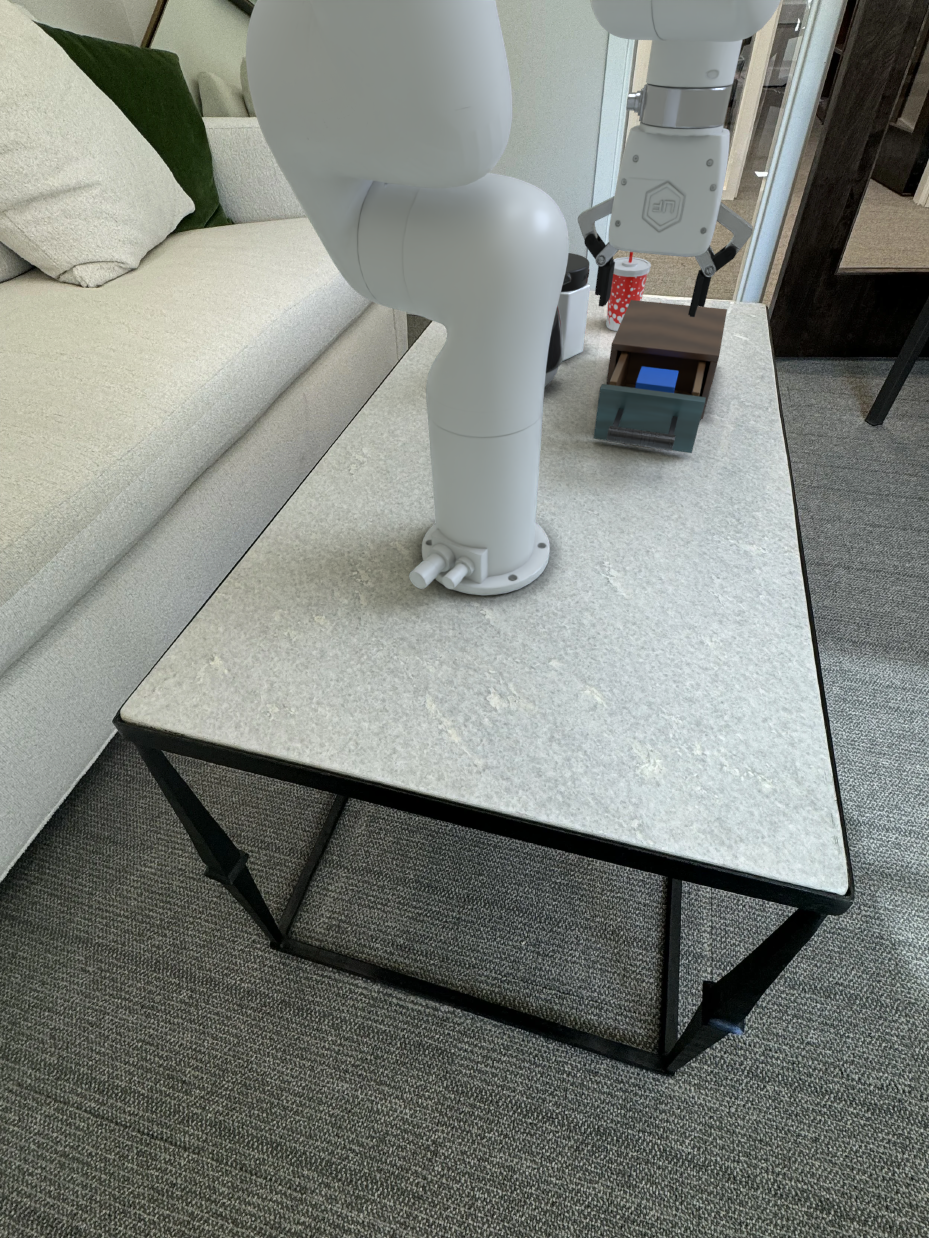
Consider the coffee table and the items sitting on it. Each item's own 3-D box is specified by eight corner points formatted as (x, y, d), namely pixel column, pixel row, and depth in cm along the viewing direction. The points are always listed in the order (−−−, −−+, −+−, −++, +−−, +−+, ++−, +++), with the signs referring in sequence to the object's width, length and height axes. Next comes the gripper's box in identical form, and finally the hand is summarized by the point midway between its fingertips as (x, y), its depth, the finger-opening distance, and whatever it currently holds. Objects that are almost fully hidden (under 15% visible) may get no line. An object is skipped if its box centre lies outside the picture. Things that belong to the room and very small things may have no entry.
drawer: (686, 482, 70) (699, 429, 65) (582, 465, 73) (589, 414, 68) (701, 399, 83) (714, 350, 78) (613, 387, 85) (620, 339, 81)
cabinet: (702, 419, 81) (719, 355, 75) (603, 405, 84) (611, 343, 78) (711, 368, 90) (727, 309, 85) (622, 358, 94) (630, 299, 88)
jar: (589, 358, 94) (600, 269, 85) (536, 365, 93) (541, 275, 84) (569, 334, 100) (577, 248, 91) (519, 340, 99) (522, 254, 90)
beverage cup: (627, 337, 98) (643, 234, 88) (593, 327, 101) (605, 227, 91) (647, 324, 102) (665, 223, 92) (614, 315, 104) (627, 216, 94)
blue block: (666, 422, 77) (674, 387, 74) (629, 417, 78) (635, 382, 75) (671, 405, 80) (678, 370, 76) (635, 400, 81) (641, 366, 78)
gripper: (581, 112, 58) (562, 310, 70) (784, 120, 54) (727, 329, 66) (598, 102, 63) (577, 288, 75) (784, 108, 59) (731, 305, 71)
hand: (647, 307), depth 71 cm, fingers open, 9 cm apart
